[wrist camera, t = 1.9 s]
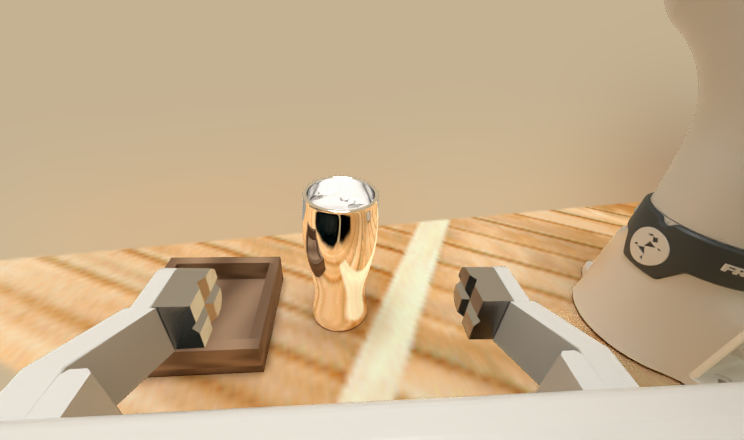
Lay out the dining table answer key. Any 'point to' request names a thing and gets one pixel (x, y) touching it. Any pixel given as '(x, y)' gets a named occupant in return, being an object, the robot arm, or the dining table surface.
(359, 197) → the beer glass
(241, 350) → the walnut tray
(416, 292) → the dining table surface
